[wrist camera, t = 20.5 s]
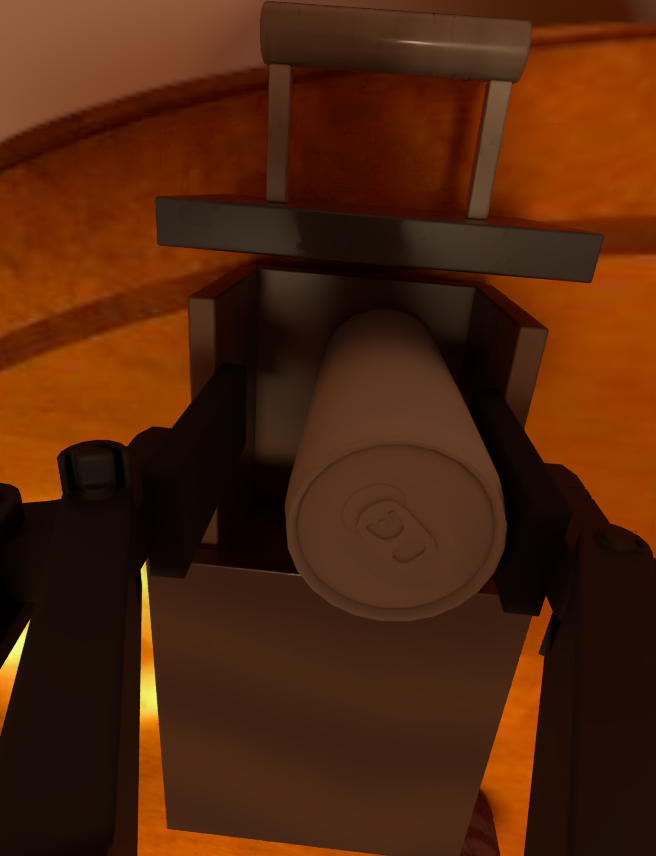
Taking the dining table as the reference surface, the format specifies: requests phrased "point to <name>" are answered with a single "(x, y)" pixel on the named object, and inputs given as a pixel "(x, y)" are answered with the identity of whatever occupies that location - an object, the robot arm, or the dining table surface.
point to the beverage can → (392, 478)
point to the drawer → (361, 252)
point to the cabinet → (323, 710)
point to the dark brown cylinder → (480, 832)
